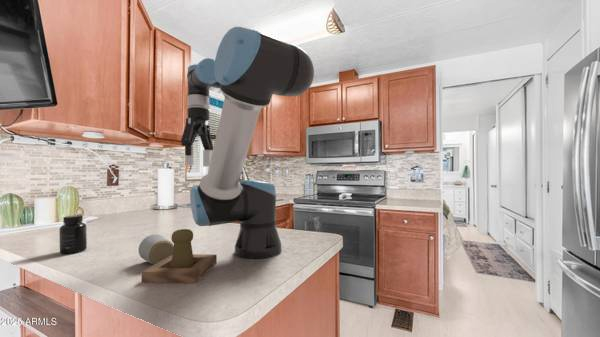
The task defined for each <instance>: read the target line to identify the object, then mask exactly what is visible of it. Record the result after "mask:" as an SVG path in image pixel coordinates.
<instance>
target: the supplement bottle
mask: <svg viewBox="0 0 600 337" xmlns="http://www.w3.org/2000/svg"><path fill="white" fill-rule="evenodd" d="M83 220H84V219H83V215H81V214H75V215H74V214H73V215H66V216H64V217H63V222H62V223H63V225H61V226H60V227H59V254H60V255H73V254H74V255H75V254H79V253H81V252H84V251H86V250H87V248H88V247H87V245H88V239H87V237H88V236H87V234H88V233H87V224H86V223H85V222H83Z"/></svg>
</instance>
